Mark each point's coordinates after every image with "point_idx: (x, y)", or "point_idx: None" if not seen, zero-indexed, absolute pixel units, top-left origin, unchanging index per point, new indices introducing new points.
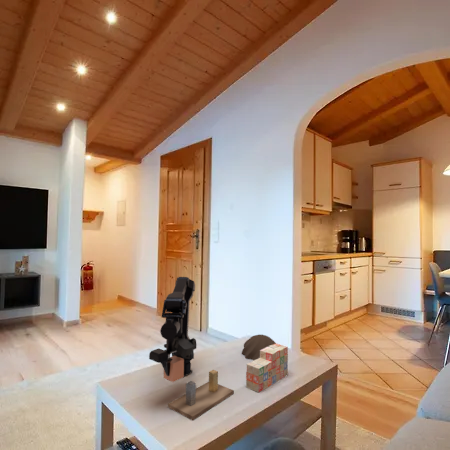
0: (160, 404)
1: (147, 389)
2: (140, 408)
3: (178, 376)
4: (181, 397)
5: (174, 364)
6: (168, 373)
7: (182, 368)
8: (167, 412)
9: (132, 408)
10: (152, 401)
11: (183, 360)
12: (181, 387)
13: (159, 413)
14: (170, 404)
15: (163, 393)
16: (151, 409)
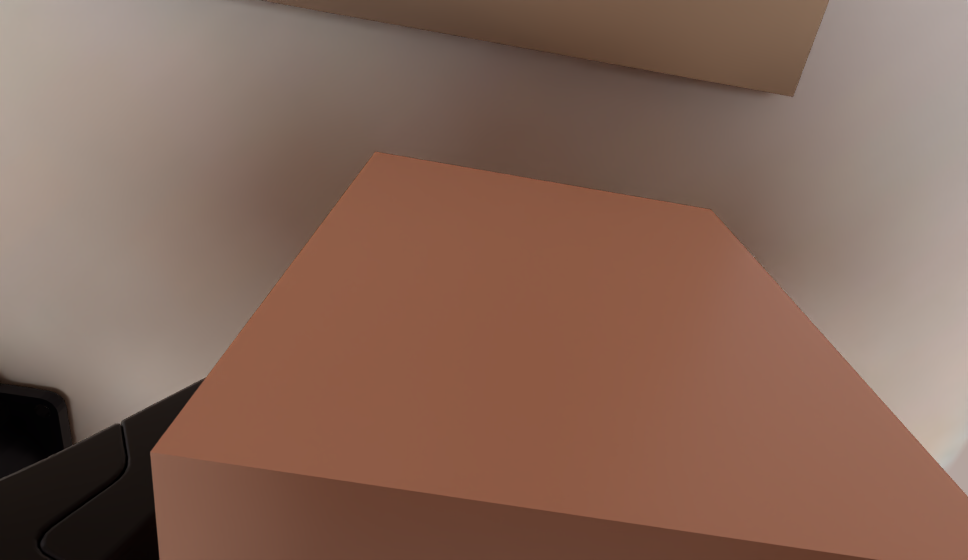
0: (744, 219)
1: None
2: (900, 353)
3: (547, 204)
4: (550, 26)
5: (892, 501)
6: None
7: (374, 244)
8: (897, 6)
9: (922, 418)
10: None
11: (221, 404)
12: (259, 249)
13: (948, 91)
14: (802, 48)
15: None
16: (885, 239)
